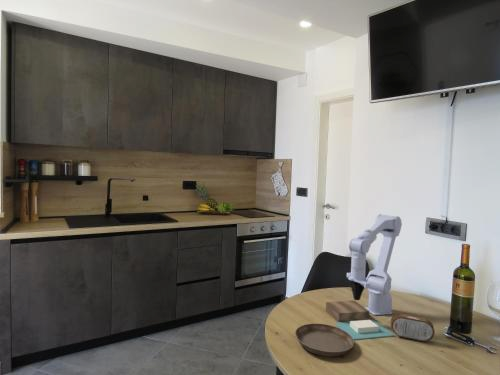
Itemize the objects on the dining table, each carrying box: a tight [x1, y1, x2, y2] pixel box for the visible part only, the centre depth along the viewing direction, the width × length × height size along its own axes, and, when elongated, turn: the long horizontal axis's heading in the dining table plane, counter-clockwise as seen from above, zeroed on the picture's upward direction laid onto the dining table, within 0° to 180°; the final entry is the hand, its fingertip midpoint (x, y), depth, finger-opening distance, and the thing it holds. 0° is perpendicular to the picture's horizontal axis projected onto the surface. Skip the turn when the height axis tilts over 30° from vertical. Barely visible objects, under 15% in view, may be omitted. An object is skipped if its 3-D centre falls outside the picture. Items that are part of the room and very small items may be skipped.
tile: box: [350, 319, 379, 333], centre depth 133 cm, size 9×6×2 cm, turn 103°
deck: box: [325, 300, 370, 322], centre depth 146 cm, size 14×12×4 cm
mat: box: [334, 319, 396, 341], centre depth 134 cm, size 18×14×1 cm
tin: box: [390, 313, 435, 343], centre depth 127 cm, size 15×3×8 cm, turn 71°
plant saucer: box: [294, 323, 355, 357], centre depth 121 cm, size 21×21×3 cm
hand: (356, 299), depth 141 cm, fingers closed
